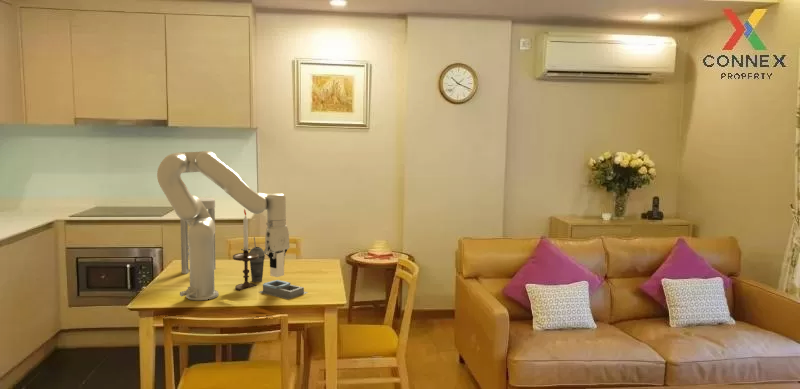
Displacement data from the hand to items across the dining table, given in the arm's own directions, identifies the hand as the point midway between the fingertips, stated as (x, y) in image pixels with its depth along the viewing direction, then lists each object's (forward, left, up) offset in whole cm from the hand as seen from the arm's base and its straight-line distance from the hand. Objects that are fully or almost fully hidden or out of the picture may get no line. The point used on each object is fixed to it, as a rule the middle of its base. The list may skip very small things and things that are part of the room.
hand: (277, 265), depth 240 cm
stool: (+4, +55, -12) cm, 57 cm away
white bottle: (0, 0, -4) cm, 4 cm away
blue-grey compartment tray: (0, -4, -12) cm, 12 cm away
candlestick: (-2, +16, -12) cm, 20 cm away
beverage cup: (+9, +21, -12) cm, 26 cm away
